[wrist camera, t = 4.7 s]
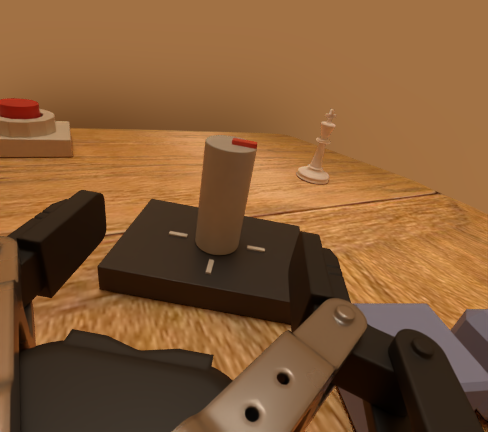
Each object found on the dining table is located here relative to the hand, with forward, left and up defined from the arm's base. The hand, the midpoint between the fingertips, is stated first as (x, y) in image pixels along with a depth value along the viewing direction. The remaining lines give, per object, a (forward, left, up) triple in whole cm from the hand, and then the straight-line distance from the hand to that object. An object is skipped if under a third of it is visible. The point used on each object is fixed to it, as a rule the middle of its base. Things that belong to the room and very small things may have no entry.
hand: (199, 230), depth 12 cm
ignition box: (-27, +25, -9) cm, 38 cm away
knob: (0, +9, -7) cm, 12 cm away
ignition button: (-27, +25, -5) cm, 37 cm away
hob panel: (0, +9, -9) cm, 13 cm away
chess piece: (+11, +33, -9) cm, 36 cm away
